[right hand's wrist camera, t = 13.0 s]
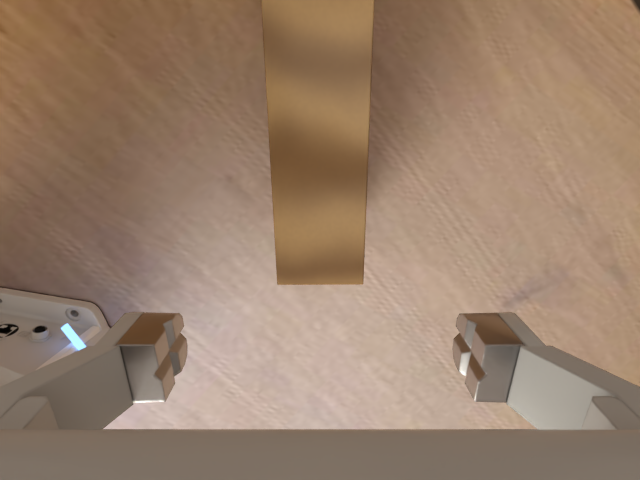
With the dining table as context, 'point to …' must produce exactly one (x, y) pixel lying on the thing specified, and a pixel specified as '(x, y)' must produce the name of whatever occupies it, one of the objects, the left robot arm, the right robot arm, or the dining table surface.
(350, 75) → the box
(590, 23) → the dining table surface
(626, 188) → the dining table surface
